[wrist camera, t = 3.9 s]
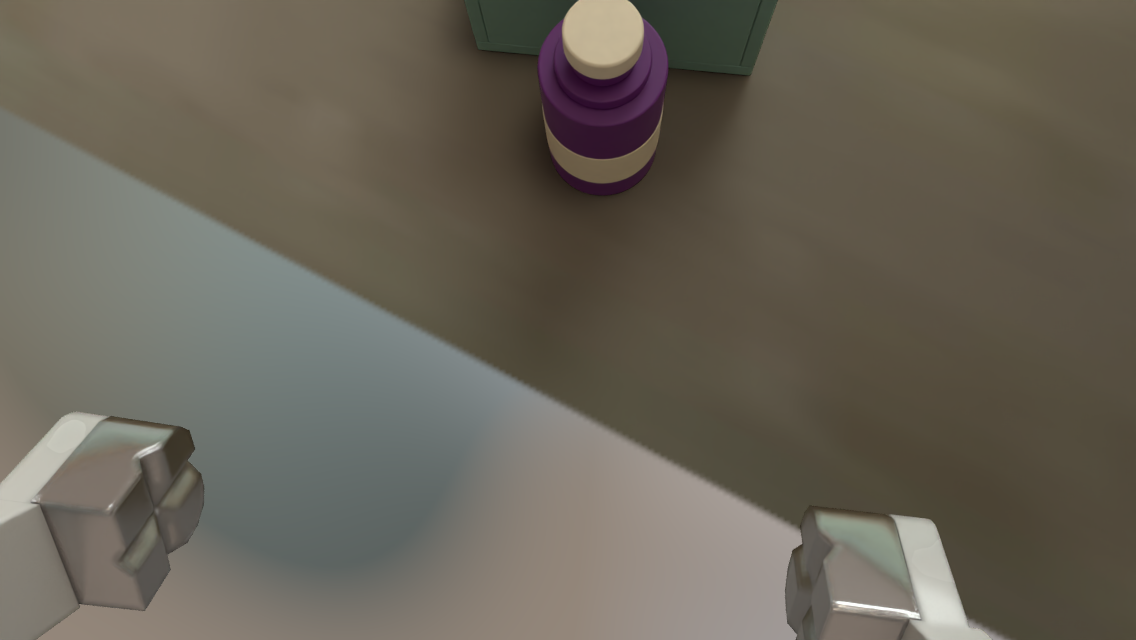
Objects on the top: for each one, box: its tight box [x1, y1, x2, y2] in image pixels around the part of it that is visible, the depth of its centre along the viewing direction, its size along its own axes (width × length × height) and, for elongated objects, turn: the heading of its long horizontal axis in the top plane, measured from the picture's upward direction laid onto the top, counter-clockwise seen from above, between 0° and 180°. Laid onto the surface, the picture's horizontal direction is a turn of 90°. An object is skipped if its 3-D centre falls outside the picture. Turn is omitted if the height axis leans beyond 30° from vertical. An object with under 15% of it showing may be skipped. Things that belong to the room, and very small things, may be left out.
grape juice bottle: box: [537, 0, 669, 195], centre depth 27 cm, size 4×4×8 cm
